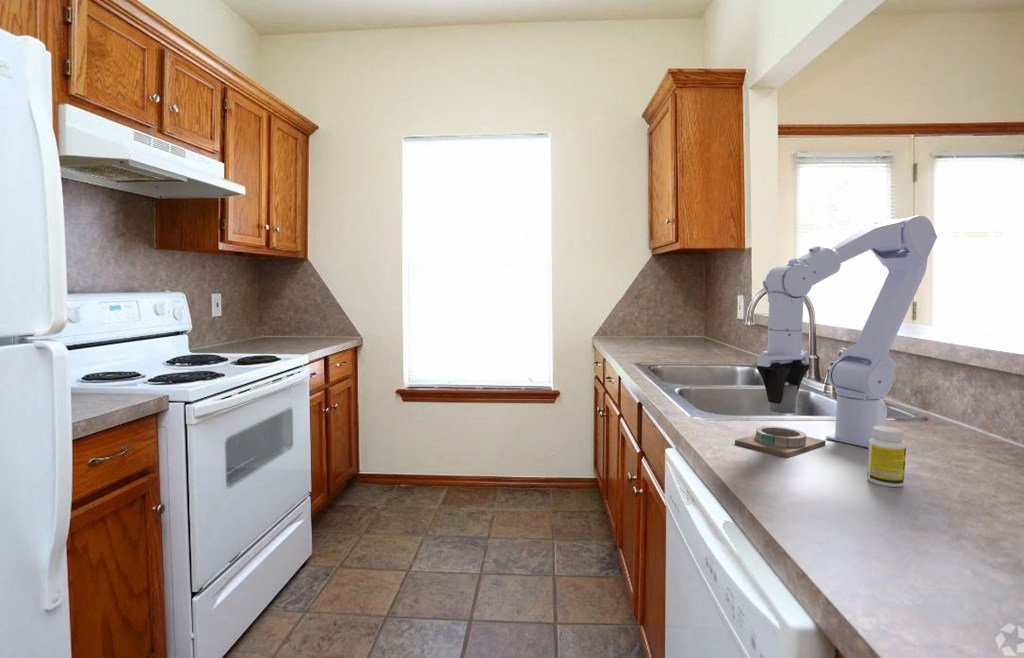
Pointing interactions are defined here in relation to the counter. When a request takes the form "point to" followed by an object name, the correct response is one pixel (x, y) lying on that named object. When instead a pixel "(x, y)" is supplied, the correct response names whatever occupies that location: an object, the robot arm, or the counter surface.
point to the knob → (786, 400)
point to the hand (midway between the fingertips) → (781, 401)
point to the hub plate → (779, 448)
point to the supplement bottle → (886, 456)
